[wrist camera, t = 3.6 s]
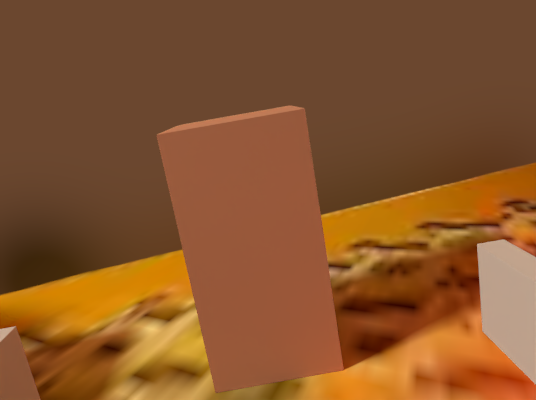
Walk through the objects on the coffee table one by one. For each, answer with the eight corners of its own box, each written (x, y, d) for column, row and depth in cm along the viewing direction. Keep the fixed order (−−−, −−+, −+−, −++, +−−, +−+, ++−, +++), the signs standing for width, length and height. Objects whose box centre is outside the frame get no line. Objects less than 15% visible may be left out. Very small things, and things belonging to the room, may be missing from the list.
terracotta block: (343, 370, 21) (304, 108, 18) (215, 393, 20) (156, 134, 18) (322, 309, 26) (290, 105, 24) (222, 327, 26) (179, 125, 24)
